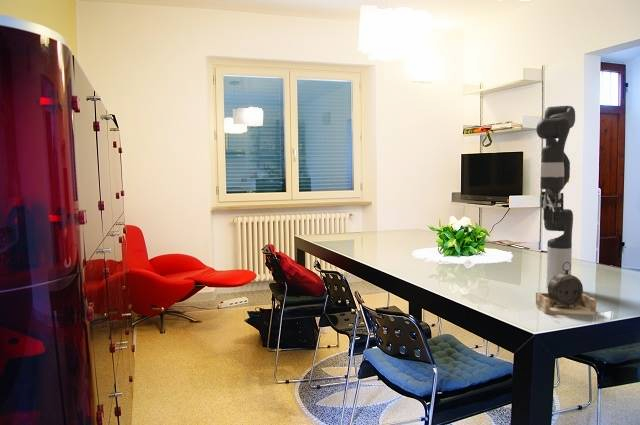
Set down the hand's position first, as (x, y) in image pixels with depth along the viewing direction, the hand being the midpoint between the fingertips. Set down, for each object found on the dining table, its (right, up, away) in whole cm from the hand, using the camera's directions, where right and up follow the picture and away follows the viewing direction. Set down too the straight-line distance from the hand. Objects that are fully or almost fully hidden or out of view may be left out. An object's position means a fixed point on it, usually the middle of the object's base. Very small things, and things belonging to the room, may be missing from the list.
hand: (551, 221), depth 179 cm
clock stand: (+4, -31, -2) cm, 31 cm away
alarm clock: (+4, -30, -3) cm, 31 cm away
